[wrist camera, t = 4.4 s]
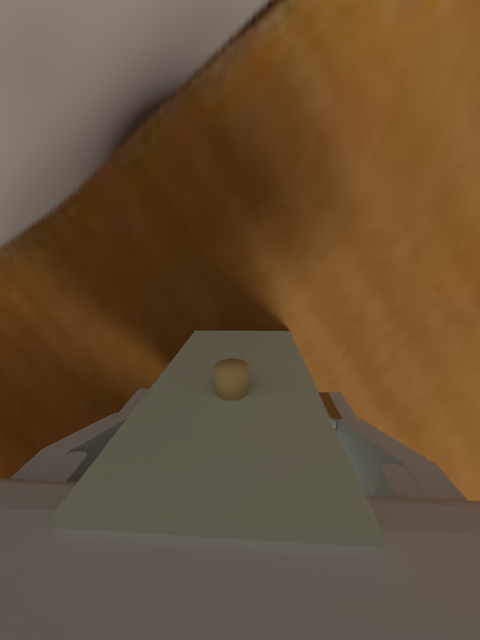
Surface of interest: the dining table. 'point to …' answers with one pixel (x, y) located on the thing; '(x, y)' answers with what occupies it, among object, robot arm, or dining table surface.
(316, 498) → the pale green box
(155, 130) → the dining table surface
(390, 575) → the robot arm
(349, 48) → the dining table surface
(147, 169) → the dining table surface
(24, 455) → the dining table surface
